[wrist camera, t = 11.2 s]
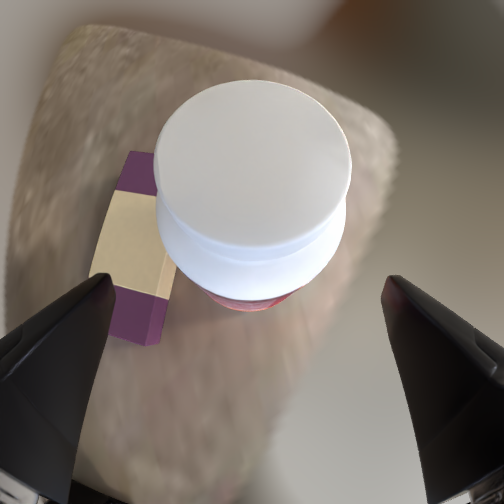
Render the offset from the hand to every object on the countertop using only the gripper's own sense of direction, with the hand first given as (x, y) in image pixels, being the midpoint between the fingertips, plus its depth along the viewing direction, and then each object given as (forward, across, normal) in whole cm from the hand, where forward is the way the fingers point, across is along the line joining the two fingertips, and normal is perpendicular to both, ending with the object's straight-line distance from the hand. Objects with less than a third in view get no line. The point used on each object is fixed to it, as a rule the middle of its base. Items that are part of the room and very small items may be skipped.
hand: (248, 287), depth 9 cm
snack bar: (+7, +6, +3) cm, 10 cm away
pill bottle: (+7, 0, +4) cm, 8 cm away
